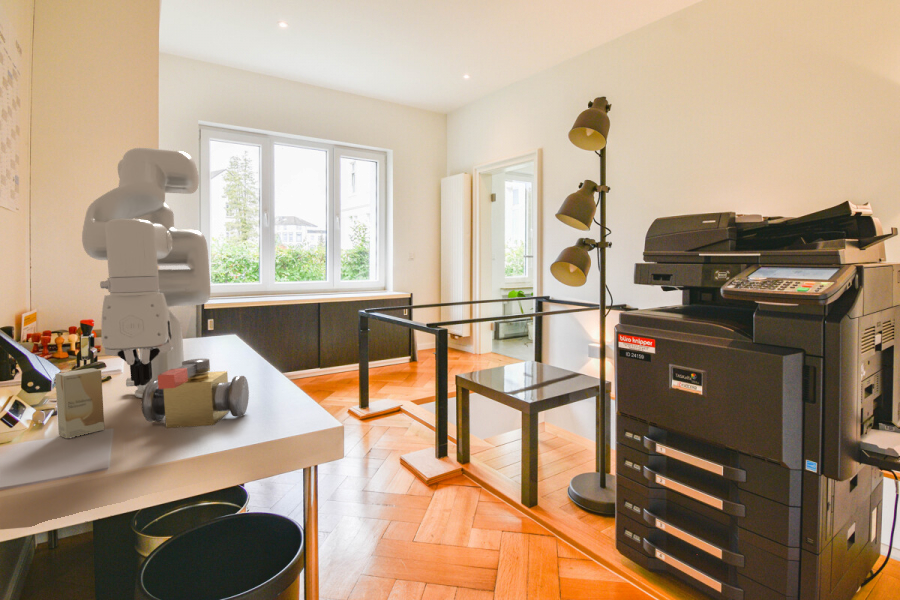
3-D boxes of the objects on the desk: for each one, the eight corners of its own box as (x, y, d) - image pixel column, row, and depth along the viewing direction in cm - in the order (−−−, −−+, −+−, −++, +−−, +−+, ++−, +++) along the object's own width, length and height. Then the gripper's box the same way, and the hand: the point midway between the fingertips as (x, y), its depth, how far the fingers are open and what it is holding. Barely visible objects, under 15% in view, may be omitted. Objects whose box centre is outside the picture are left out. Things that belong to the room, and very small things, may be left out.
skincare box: (66, 440, 84) (61, 376, 83) (58, 435, 86) (52, 373, 85) (107, 429, 89) (102, 369, 89) (97, 425, 92) (92, 366, 91)
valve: (142, 429, 89) (138, 381, 88) (165, 414, 98) (161, 371, 97) (236, 423, 91) (233, 377, 90) (250, 409, 100) (247, 367, 99)
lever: (189, 369, 96) (188, 358, 96) (213, 368, 96) (213, 357, 96) (152, 389, 81) (151, 375, 81) (181, 387, 82) (180, 374, 81)
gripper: (76, 289, 77) (85, 393, 78) (175, 286, 81) (181, 385, 83) (96, 287, 84) (104, 382, 85) (186, 284, 88) (191, 375, 90)
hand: (142, 383), depth 84 cm, fingers closed
